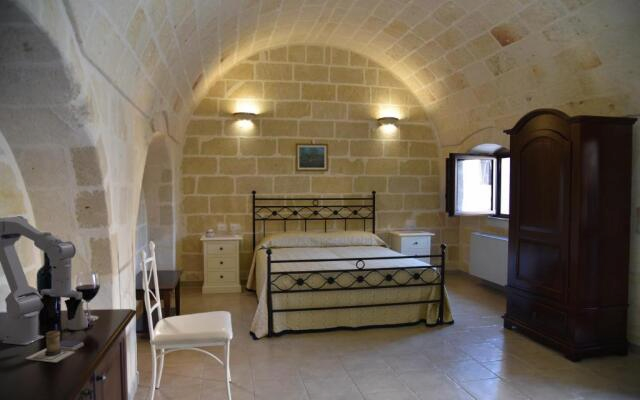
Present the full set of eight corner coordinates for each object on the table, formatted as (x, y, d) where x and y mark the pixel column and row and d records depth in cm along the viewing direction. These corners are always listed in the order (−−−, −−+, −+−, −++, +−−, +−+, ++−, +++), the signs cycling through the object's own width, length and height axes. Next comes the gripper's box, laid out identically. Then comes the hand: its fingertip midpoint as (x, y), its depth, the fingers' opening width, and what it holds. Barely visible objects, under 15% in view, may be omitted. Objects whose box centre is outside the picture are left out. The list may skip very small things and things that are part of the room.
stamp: (41, 355, 139) (41, 335, 139) (52, 350, 143) (52, 330, 143) (54, 356, 138) (53, 336, 138) (64, 351, 143) (64, 331, 142)
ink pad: (51, 348, 145) (51, 344, 145) (62, 343, 150) (62, 339, 150) (72, 351, 144) (72, 347, 144) (83, 345, 149) (83, 341, 149)
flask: (79, 331, 162) (80, 305, 161) (63, 329, 163) (63, 303, 163) (93, 325, 169) (93, 300, 169) (77, 323, 170) (77, 298, 170)
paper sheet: (25, 359, 137) (25, 357, 137) (45, 349, 145) (45, 348, 145) (55, 362, 135) (55, 361, 135) (74, 352, 143) (74, 351, 143)
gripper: (33, 279, 143) (33, 319, 144) (71, 282, 141) (71, 324, 141) (50, 274, 150) (50, 313, 151) (86, 278, 147) (86, 317, 148)
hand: (61, 318), depth 147 cm, fingers open, 7 cm apart
